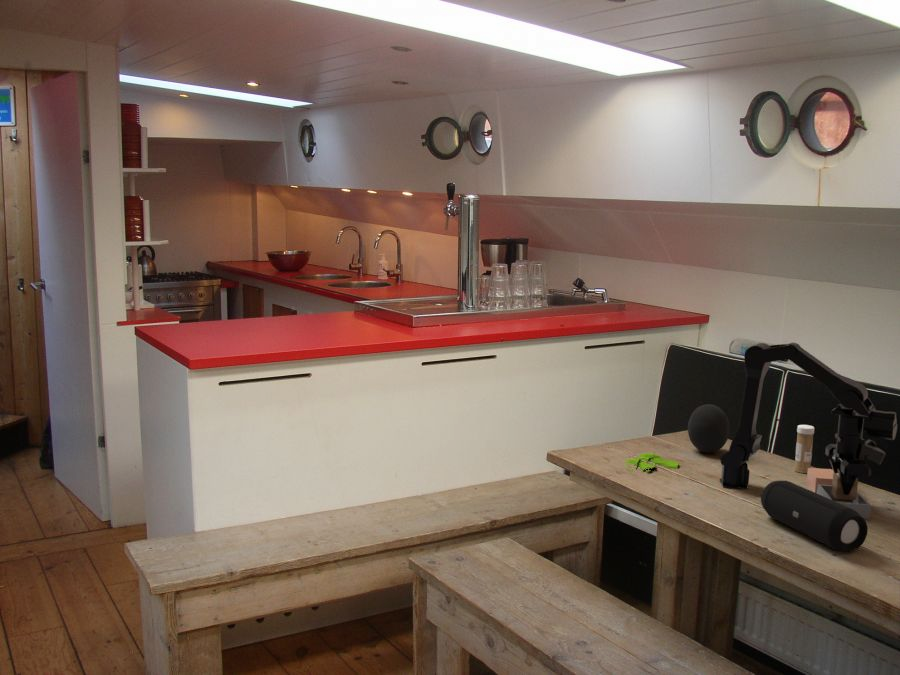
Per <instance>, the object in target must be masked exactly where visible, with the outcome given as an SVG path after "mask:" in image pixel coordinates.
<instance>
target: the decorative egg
mask: <svg viewBox="0 0 900 675" xmlns="http://www.w3.org/2000/svg"><path fill="white" fill-rule="evenodd" d="M687 433H688V438H689V440H690V443H691V444H692V445H693V447H695V449H696V450H698V451H701V452H702V453H707V454H711V453H715V452H718V451H720V450H721V449H722V448H723V447H724V446H725V445H726V444H727V441H728V439H729V436H730V421H729V418H728V416H727V415H726V413H725V411H724V410H722V408H720V407H719V406H717V405H715V404H711V403H710V404H702V405H699V406H698V407H697V408H695V409H694V411H692V413H691V415H690V417H689V420H688V423H687Z"/></svg>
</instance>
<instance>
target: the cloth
mask: <svg viewBox="0 0 900 675" xmlns="http://www.w3.org/2000/svg"><path fill="white" fill-rule="evenodd" d="M639 454H640V456H642V457H636V458H637V459H631V460H629V458H627V459H626V460H627V461H626V460H625V461H626V463H627V465H626V467H627V466H628V465H629V463H632V464H634V466H636V468H637V469H638V467H640V469H641V470H642V471H643V472H644V471H645V469H646V468H652V469H654V470H657V471H658V467H657V466H660V465H661V466H660V467H663V466H664V467H663V468H667V467H668V469H673V470H678V467H679V466H680V462H677V461H674V460H669V459H664V457H662V456H660V455H659V454H655V453H653V452H649V453H639ZM660 458H661V459H660ZM662 458H663V459H662ZM651 459H652V460H651ZM641 460H644V461H646V462H641ZM647 461H649V462H647ZM650 462H652V463H650ZM649 463H650V464H649ZM653 463H655V464H653ZM656 464H658V465H657V466H655V465H656ZM678 465H679V466H678ZM637 466H638V467H637ZM629 469H631V471H633V469H632V468H630V466H629ZM640 469H639V470H640ZM652 469H650V470H648V469H646V470H647V471H646V472H647V474H648V475H650V472H652V473H654V472H653V471H651V470H652ZM641 470H640V471H641ZM642 471H641V472H642ZM646 472H645V473H646Z"/></svg>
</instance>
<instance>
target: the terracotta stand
mask: <svg viewBox="0 0 900 675" xmlns="http://www.w3.org/2000/svg"><path fill="white" fill-rule="evenodd" d="M833 473H834V472H833V469H831V468H815V467H814V468H813V467H811V468H808V472H807V473H806V483H805V484H806V485H807V486H808V488H809V489H810V491H812V492H815V493H817V486H818V485H832V481H833Z"/></svg>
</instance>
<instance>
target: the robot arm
mask: <svg viewBox="0 0 900 675" xmlns="http://www.w3.org/2000/svg"><path fill="white" fill-rule="evenodd" d="M743 356H744V359H743V360H744V361H743V362H744V370H745V373H746V374H745V376H746V379H745V387H744V393H743V398H742V404H741V412H740V416H739V422H738V423H739V424H738V428H737V429H736V431H735V433H734V435H733V437H732V440H731V442H730V445H729V449H728V451H727V452H726V453H724V454H723V455H721V456H720V457H719V459H720V463H721V477H720V478H719V482H720V484H721V485H722V487H723V488H731V489H732V488H733V489H748V485H749V484H750V482H749V481H750V469H749V468H748V467H749V465H748V463H747V462H749V460H750V458H752V457H754V456H755V455H756V454H757V452H758V451H759V450H761V445H760V444H761V440H762V438H763V435H762V434H758V433H757V421H758V416H759V415H758V414H759V410H760V403H761V398H762V391H763V386H764V385H763V384H764V379H765V377H766V374H767V373H768V370H769V369H770V367H771V364H772V362H777V361H778V362H779V361H784V360H789V361H790V362H792V363H793V364H795V366H797V367H798V368H800V369H801V370H803V371H804V372H806V373H807V374H808V375H810V376H811V377H812V378H814V379H815V380H817V381H818V382H819V383H821V384H822V385H823V386H825V387H826V389H828V391H830V393H831V395H832V397H833V398H834V399H836V400H837V401H838V402H839V404H837V406H836V407H835V408H833V409H832V410H830V413H831V414H832V415H837V416H839V417H838V426H837V433H834V437H835V439H836V443H829V444H827V445H826V446H825V452H824V454H825V455H826V456H827V457H831V455H832V458H829V459H828V460H829V463H830V465H831V468H832V469H833V472H834V473H839V477H840V481H841V485H842V488H843V492H844V494H845V495H849V494H850V491H851V489H852V487H853V485H854V482H855V480H856V478H859V477H860V476H861V477H870V476H871V474H872V468H871V467H870V466H869V464H867V463H866V461H865V459H866V460H869V461H871V462H873V463H875V464H876V465H881V463H883V460H884V458H885V456H886V452H885V451H884V450H882V449H881V448H879V447H877V443H876V442H875V441H874V440H871V439H870V438H869V439H867V440H865V439H864V438H863V433H864V432H865V434H868V436H869V437H873V438H877V439H878V438H879V439H883V440H891V441H894V440H895V439H896V436H897V431H898V423H897V412H896V411H884V410H877V409H876V407H875V405H874V404H873V402H872V400H871V399H870V398H869V397H868V396H869V392H868V389H867V387H866V386H865V385H864V384H862V383H861V382H859V381H856V380H854V379H853V378H850V377H847V376H844V375H841V374H840V373H838V372H837V371H835V370H834V369H832V368H831V367H829V366H828V365H827V364H825V363H823V362H822V361H821V360H819V359H818V358H816V356H814V355H812V354H811V353H810V352H808V351H807V350H806V349H804V348H803V347H801V345H800V344H799V343H797V342H789V343H783V344H782V343H781V344H771V345H770V344H768V343H765V342H759V343H755V344H754V345H752V346H750V347H747V349H746V350H745V352H744V355H743ZM864 420H865V421H864ZM863 430H864V432H863Z"/></svg>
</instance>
